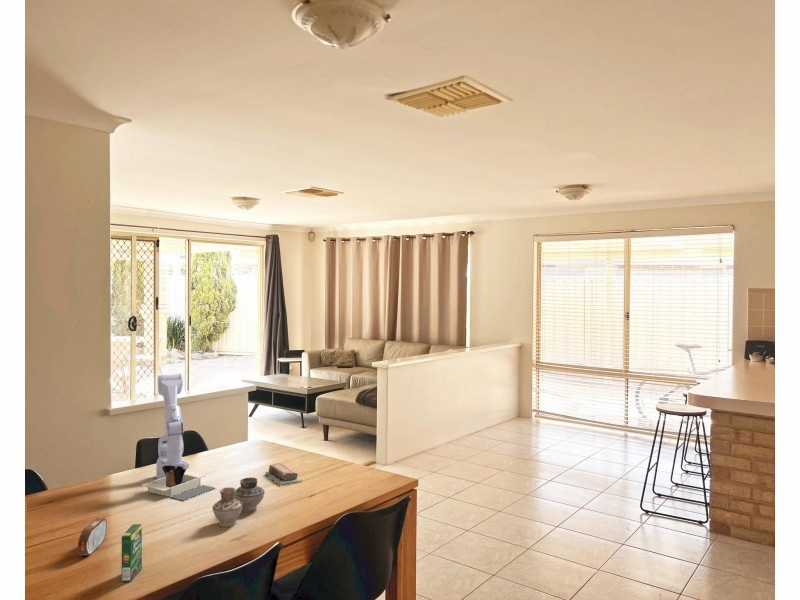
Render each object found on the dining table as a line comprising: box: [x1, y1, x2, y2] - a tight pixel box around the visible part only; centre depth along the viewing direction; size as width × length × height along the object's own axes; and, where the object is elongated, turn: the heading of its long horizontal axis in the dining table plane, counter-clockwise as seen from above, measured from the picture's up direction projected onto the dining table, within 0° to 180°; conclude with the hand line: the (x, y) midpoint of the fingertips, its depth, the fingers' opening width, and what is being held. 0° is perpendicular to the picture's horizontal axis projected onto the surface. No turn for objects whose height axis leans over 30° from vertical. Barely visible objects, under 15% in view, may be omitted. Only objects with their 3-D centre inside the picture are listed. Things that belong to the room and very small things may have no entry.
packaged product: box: [264, 462, 303, 486], centre depth 247 cm, size 18×5×10 cm
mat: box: [170, 484, 216, 502], centre depth 227 cm, size 7×16×1 cm, turn 152°
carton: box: [140, 470, 207, 498], centre depth 232 cm, size 13×21×4 cm, turn 152°
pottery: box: [212, 477, 266, 528], centre depth 205 cm, size 11×25×12 cm, turn 166°
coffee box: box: [121, 523, 143, 583], centre depth 161 cm, size 8×3×13 cm, turn 3°
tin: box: [77, 517, 108, 556], centre depth 177 cm, size 15×3×8 cm, turn 5°
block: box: [166, 470, 183, 488], centre depth 232 cm, size 4×5×7 cm
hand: (174, 483), depth 232 cm, fingers closed on block, 4 cm apart
